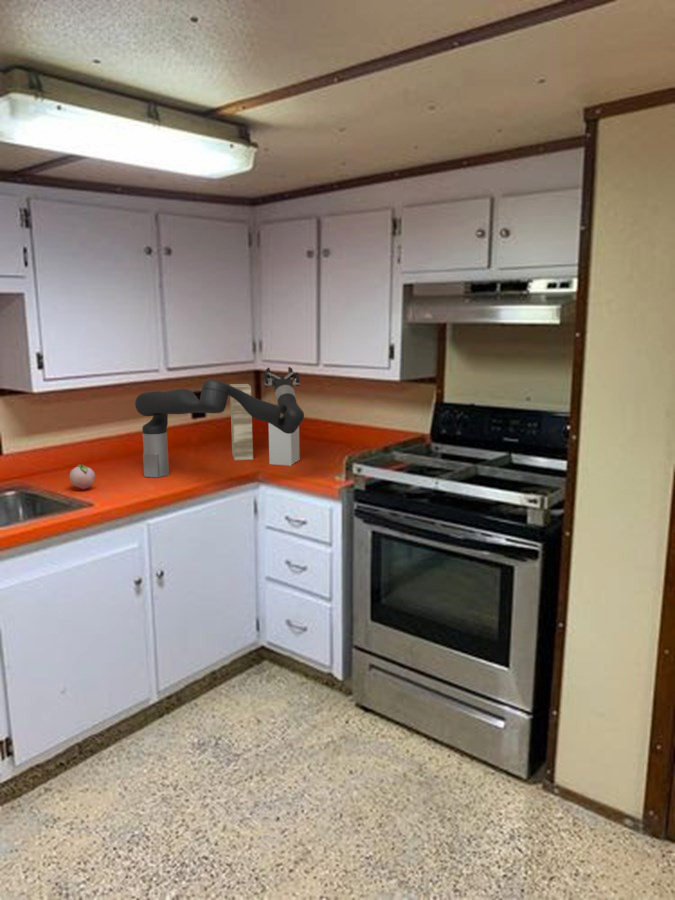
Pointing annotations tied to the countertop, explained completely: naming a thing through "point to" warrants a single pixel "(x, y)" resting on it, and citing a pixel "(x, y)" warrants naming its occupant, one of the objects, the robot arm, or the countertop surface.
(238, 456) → the tall stand
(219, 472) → the countertop surface
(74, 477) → the decorative fruit
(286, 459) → the short block
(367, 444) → the countertop surface
